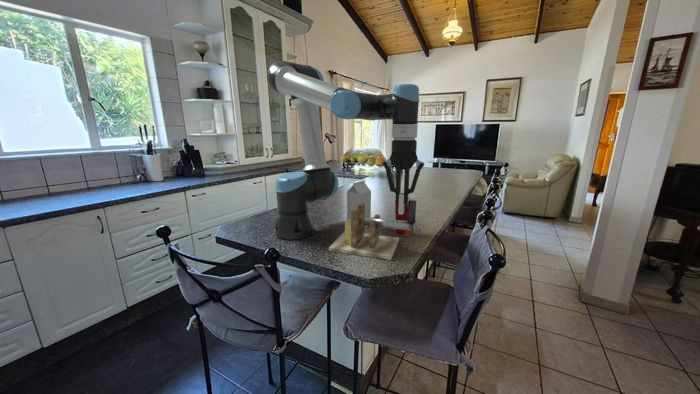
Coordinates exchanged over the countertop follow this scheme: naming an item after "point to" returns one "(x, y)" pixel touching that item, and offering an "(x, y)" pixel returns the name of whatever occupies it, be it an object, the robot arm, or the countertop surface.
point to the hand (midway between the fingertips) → (401, 213)
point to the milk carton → (359, 198)
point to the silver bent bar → (397, 224)
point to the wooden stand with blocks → (365, 238)
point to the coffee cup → (403, 216)
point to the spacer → (348, 232)
